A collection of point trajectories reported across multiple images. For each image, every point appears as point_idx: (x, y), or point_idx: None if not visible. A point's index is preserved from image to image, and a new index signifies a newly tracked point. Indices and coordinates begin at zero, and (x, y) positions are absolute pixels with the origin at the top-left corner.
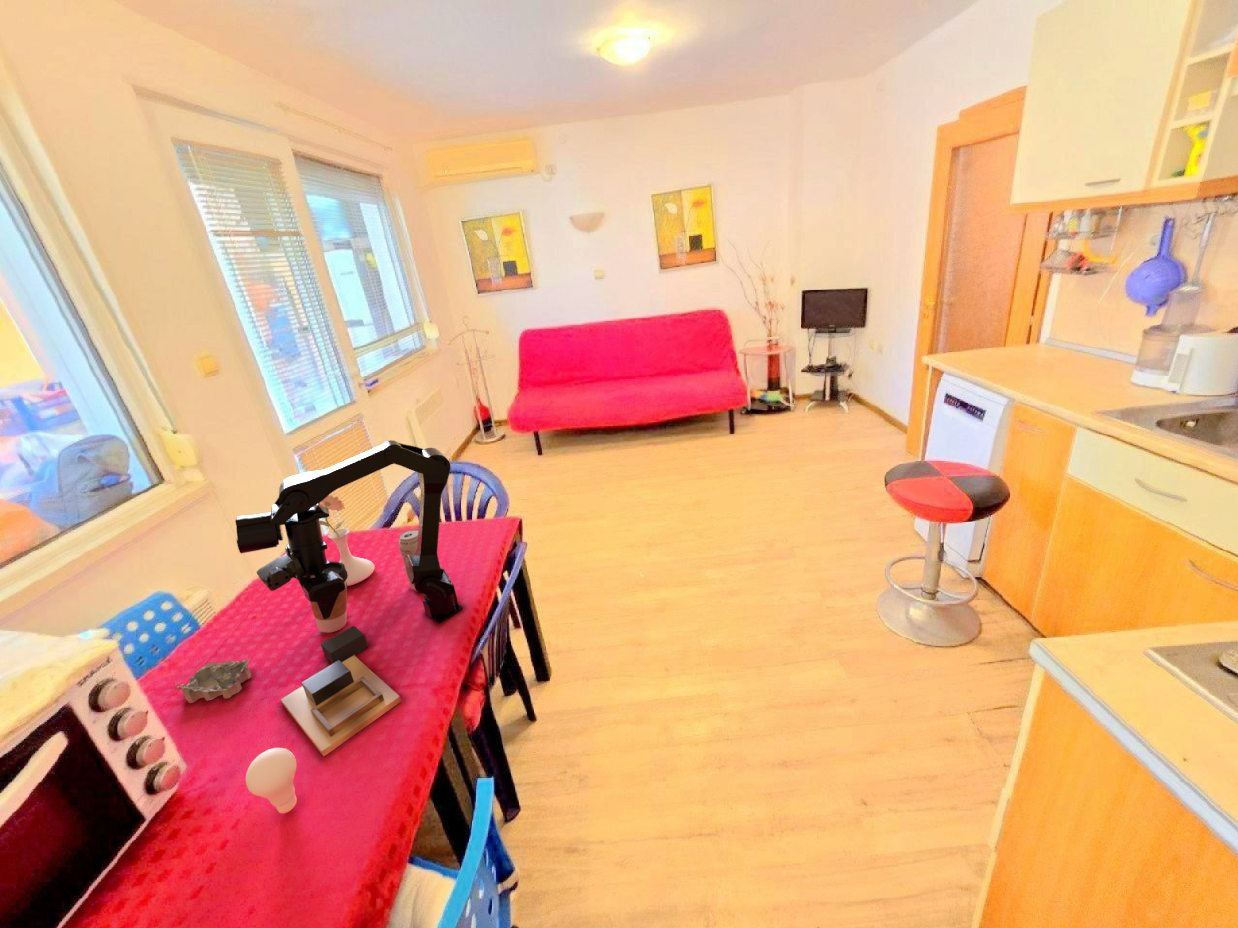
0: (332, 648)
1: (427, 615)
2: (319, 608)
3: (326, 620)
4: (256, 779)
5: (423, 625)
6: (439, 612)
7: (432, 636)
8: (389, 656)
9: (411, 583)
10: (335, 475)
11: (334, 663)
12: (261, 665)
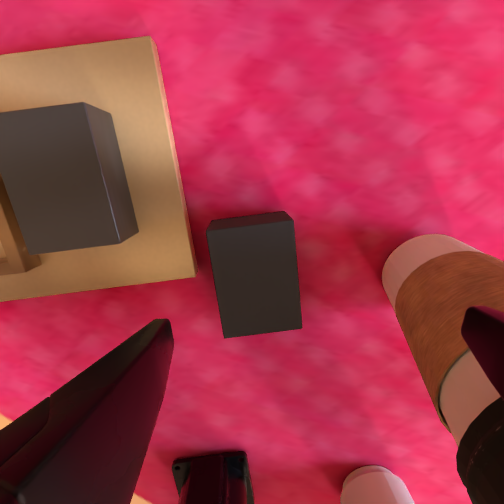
0: (228, 243)
1: (214, 459)
2: (44, 400)
3: (409, 273)
4: None
5: (200, 431)
6: (185, 488)
7: None
8: None
9: (376, 493)
10: None
11: (111, 226)
12: (426, 35)
